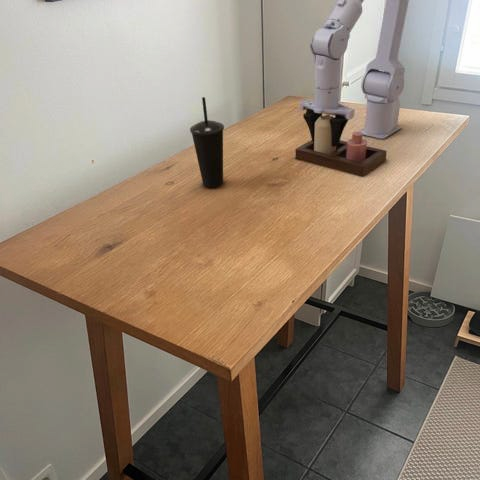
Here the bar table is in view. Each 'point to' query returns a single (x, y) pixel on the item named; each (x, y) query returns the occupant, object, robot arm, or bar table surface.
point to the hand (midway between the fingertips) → (325, 142)
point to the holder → (342, 158)
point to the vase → (356, 147)
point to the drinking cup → (209, 150)
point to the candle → (323, 135)
